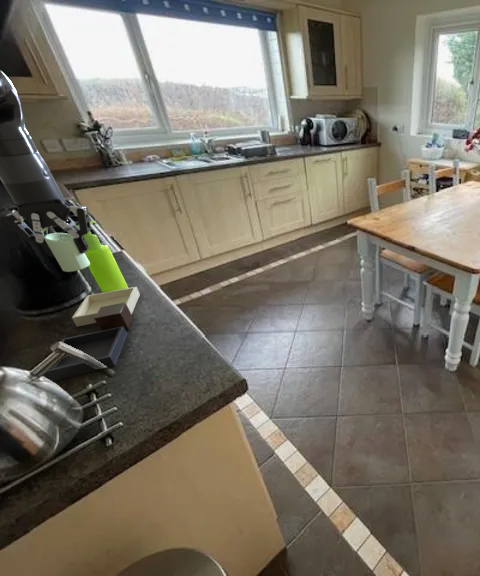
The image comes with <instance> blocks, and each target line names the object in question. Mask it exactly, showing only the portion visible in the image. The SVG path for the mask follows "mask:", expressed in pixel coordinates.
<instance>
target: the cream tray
mask: <svg viewBox="0 0 480 576" xmlns="http://www.w3.org/2000/svg"><path fill="white" fill-rule="evenodd" d="M140 295H141V293H140V291H139V289H138V286H132V287H128V288H126V289H120V290H115V291H109V292H103V293H102V292H99V293H93V294H87V295H86V296H85V298H84V300H83V301H81V304H80V305H79V306H78V308H77V310H76V311H75V312H74V314H73V316H72V317H71V319H72V321H73V323H74V324H75V326H76V327H82V326H83V327H84V326H86V325H92V324H97V322H96V321H95V319H94V318H95V316H96V314H97V313H98V311H99V309H100V307H104V306H109V305H114V304H119V303H126V305H127V307H128V309H129V311H130V313H131V315H132V316H133V312H134V310H135V307H136V306H137V303H138V300H139V298H140Z"/></svg>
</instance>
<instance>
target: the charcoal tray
mask: <svg viewBox="0 0 480 576" xmlns="http://www.w3.org/2000/svg"><path fill="white" fill-rule="evenodd" d="M127 338H128V333H127V331H126V330H125V329H124V327H123V326H121V327H116V328H111V329H107V330H102V331H101V330H98V331H93V332H88V333H83V334H79V335H74V336H69V337H64V338H62V339H61V340H60V342H64V343H66V344H68V345H71V346H72V347H74V348H76V349H79V350H81V351H83V352H84V353H86V354H88V355H90V356H92V357H94V358H95V359H96V360H98V361H100V362H101V363H103V364H104V365H106V366H107V367H108V368H107V369H109V368H114V367H116V366H117V363H118V361H119V358H120V355H121V352H122V350H123V348H124V345H125V343H126V340H127ZM93 372H98V370H96V369H94V368H92V367H91V366H89V365H87V364H85V363H84V362H81V361H79V360H78V359H75V358H73V357H70V356H67V357H65V358H64V359H62V360H61V361H60V362H59V363H58V364H57V365H56V366H54V367H53V368H52V369H50V370H48V371H47V372H46V373H45V374H44V376H45V377H46V378H48V379H50V380H52V382H56V381H60V380H64V379H68V378H73V377H77V376H80V375H85V374H88V373H93Z"/></svg>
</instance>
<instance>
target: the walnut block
mask: <svg viewBox="0 0 480 576" xmlns="http://www.w3.org/2000/svg"><path fill="white" fill-rule="evenodd" d="M94 319H95V321H96V322H97V323H96V324H97V326H98V327H99V329H100V331H102V330H107V329H111V328H116V327H121V326H123V327H124V329H125V330H126V332H127V331H130V329H131V326H132V324H133V321H134V317H133V314H132V315H131V313H130V311H129V309H128V307H127V305H126V303H119V304H114V305H109V306H104V307H100V309H99V311H98V313H97V314H96V316H95V318H94Z"/></svg>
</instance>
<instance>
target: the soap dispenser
mask: <svg viewBox="0 0 480 576" xmlns="http://www.w3.org/2000/svg"><path fill="white" fill-rule="evenodd" d="M96 223H97V221H96V220H90V226H91V225H93V224H96ZM76 226H77V227H78V228H79V229H80V226H79V224H76ZM84 238H85V240H86V242H87V244H88V245H89V248H88V249H87V252H86V253H85V255H86V257H87V259H88V261H89V262H90V265H89V266H88V269H89V271H90V273H91V275H92V276H93V279H94V280H95V282H96V284H97V286H98V287H99V289H100V291H101V293H103V292H109V291H115V290H120V289H126V288H129V286H128V284H127V282H126V280H125V278H124V275H123V273H122V271H121V269H120V267H119V265H118V264H117V261H116V259H115V257H114V254H113V253H112V251H111V249H110V246H109V245H107V244H101V241H100V239H99V237H98V235H97V234H95V233H94V234H93V233H92V232H91V230H90V231H89V232H88V233H87V234H84Z"/></svg>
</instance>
